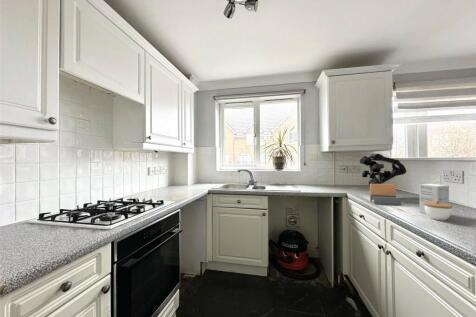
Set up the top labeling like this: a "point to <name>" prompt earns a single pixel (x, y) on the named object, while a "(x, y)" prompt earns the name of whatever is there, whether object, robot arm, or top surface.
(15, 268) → the top surface
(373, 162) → the robot arm
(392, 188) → the duct cover
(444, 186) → the supplement box
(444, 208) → the lidded jar
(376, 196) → the cable duct
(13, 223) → the top surface
